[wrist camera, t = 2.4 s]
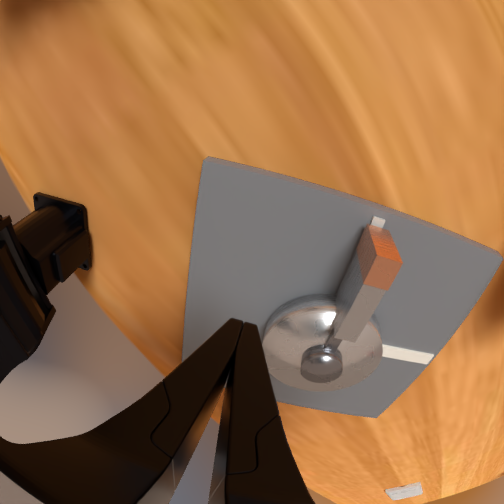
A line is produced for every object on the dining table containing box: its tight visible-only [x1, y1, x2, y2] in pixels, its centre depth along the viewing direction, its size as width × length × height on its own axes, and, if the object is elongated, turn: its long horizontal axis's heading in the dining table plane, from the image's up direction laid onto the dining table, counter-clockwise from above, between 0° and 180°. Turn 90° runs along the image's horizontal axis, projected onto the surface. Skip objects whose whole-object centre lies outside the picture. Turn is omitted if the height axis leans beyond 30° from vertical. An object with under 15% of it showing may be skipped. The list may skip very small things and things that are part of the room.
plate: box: [182, 156, 503, 418], centre depth 23 cm, size 22×22×1 cm
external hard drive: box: [385, 482, 423, 500], centre depth 47 cm, size 2×8×12 cm
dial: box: [262, 224, 403, 392], centre depth 19 cm, size 15×9×4 cm, turn 168°
